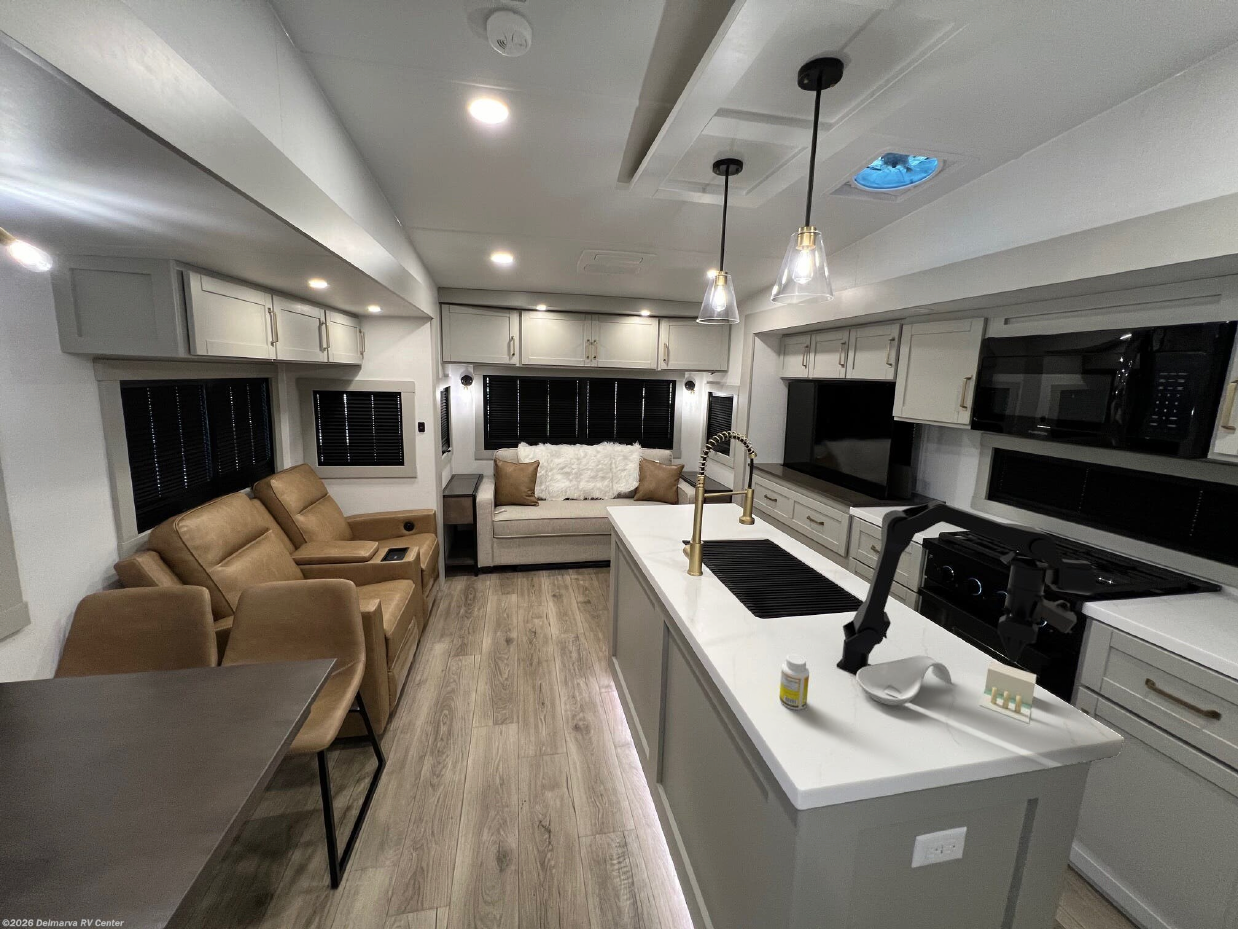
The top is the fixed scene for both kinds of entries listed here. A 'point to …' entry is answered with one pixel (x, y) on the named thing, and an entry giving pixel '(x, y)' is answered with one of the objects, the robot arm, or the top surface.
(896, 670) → the spoon rest
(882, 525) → the robot arm
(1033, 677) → the block
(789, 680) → the supplement bottle
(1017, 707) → the header board
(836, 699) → the top surface
